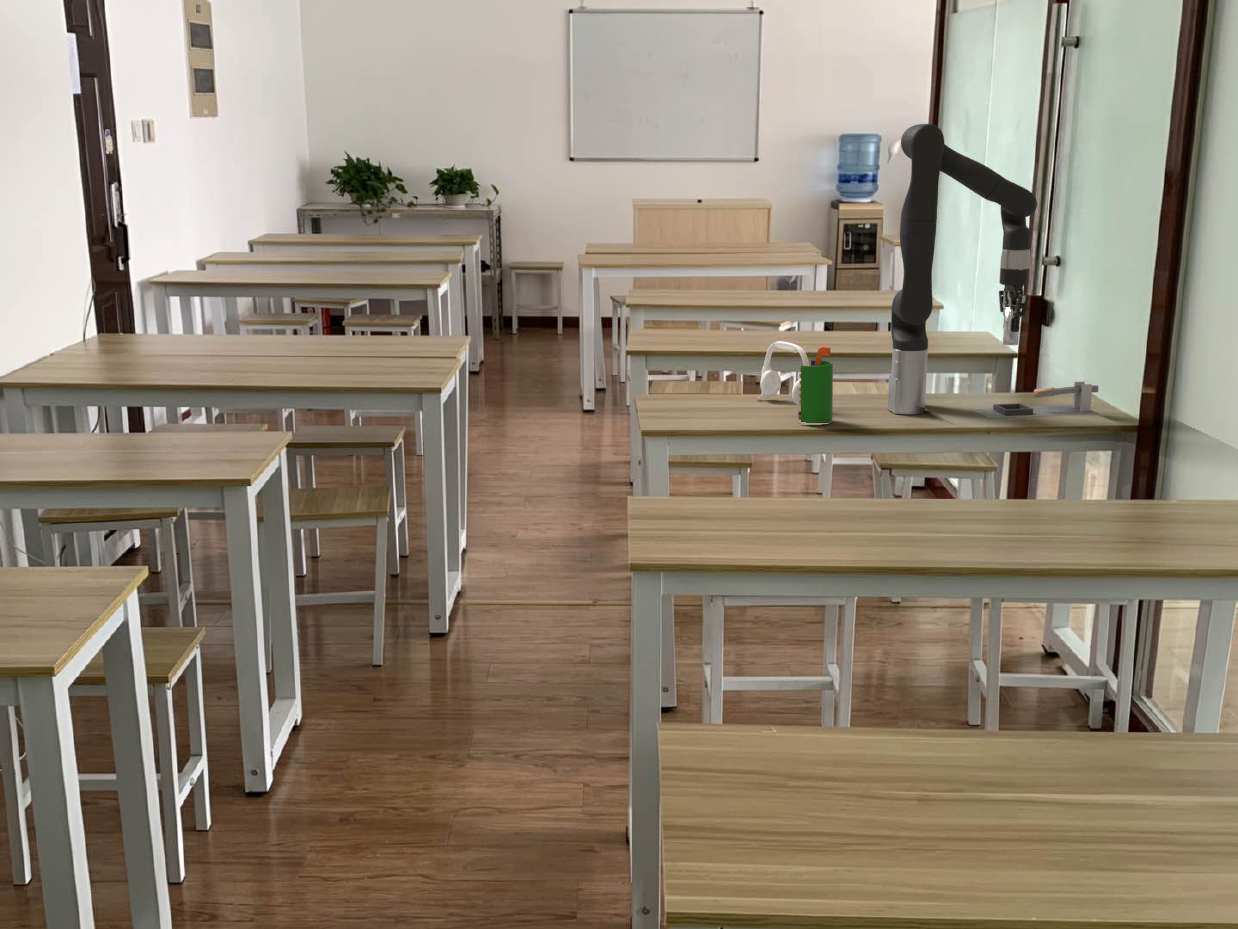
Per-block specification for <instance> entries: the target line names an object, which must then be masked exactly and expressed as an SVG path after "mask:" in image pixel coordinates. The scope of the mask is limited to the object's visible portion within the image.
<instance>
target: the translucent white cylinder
mask: <svg viewBox="0 0 1238 929" xmlns="http://www.w3.org/2000/svg"><path fill="white" fill-rule="evenodd" d="M1014 311H1015V309H1014ZM1003 325H1004V329H1003V335H1002V345H1005V346H1018V345H1019V338H1020V331H1019V332H1011V331H1010V327H1011V310H1010V309H1009V307H1005V315H1003Z"/></svg>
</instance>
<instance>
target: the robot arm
mask: <svg viewBox="0 0 1238 929" xmlns="http://www.w3.org/2000/svg"><path fill="white" fill-rule="evenodd" d="M900 148H901V151H902V152H903V153H904V155H905V156H907V158H909V159H910V161H911V166H910V167H911V173H910V174H911V175H910V182H909V187H908V190H907V193H906V195H905V198H904V202H903V205H902V209H901V213H900V223H899V224H900V225H899V246H900V252H901V258H902V264H903V265H902V266H903V279H902V288H901V289H900V290H899V291H898V292H896V294H895V296H893V299H892V304H891V315H890V316H891V317H890V318H891V324H890V326H891V329H890V332H891V333H890V334H891V340H892V353H891V355H892V358H891V359H892V360H891V374H889V375H888V390H887V391H888V392H887V393H888V394H887V395H888V396H887V410H888V411H890V412H891V411H892V412H891V413H893V414H896V415H897V414H898V415H919V414H924V413H925V412H926V398H927V395H926V394H927V377H928V374H927V372H928V354H929V353H928V352H929V338H928V336H927V328H926V326H927V323H926V321H927V320H928V319H929V318H930V316H931V314H932V311H933V306H934V304H933V303H934V302H933V301H934V300H933V279H932V278H933V277H932V275H933V274H932V273H933V264H934V257H935V248H936V247H935V246H936V236H937V222H938V203H939V202H938V201H939V182H940V181H939V180H940V173H944V174H945V175H946V176H949V177H950V178H951V179H953V180H954V181H956V182H958V183H959V184H961V185H963V186H964V187H965V188H967V189H969V190H970V191H971V192H973V193H975V194H977V195H978V196H980V197H981V198H983V199H985V200H987V201H989V202H992V203H995V204H997V205H999V206H1000V218H1001V219H1000V220H1001V225H1002V230H1003V235H1002V247H1001V248H1002V249H1001V254H1000V255H1001V256H1000V264H999V266H1000V267H999V268H1000V269H999V285H1002V286H1004V288H1003V290H999V291H998V298H999V299H998V300H999V301H998V302H999V310H1000V313H1002V315H1003V316H1004V315H1005V307H1009V309H1010V310H1011V327H1010V331H1011V332H1019V333H1020V323H1021V318H1022V317H1025V315H1026V310H1027V305H1028V301H1029V295H1025V294H1024V286H1026V285H1028V284H1029V283H1030V272H1031V270H1030V269H1031V268H1030V267H1031V235H1032V233H1031V230H1030V229H1031V228H1029V227H1028V226H1027V217H1030V216H1032V215H1033V214H1034V213H1035V212H1036V210H1037V207H1038V200H1037V198H1036V196H1035V194H1034V193H1033V192H1031V191H1030V190H1029V189H1027V188H1025V187H1023V186H1021V185H1019V184H1017V183H1015V182H1012V181H1010V180H1008V179H1007V178H1005V177H1003V176H1002V175H1001V174H999V173H998V172H996V171H995V170H993V169H991V168H990V167H988V166H986V165H985V164H983V163H981V162H979V161H977V160H974V159H972V158H970V157H968V156H966V155H964V154H961V153H959V152H958V151H956V150H954V149H952V148H951V147H949V146H948V145H947V144H945V136H944V133H943V131H942V130H941V128H940V127H939V126H937V125H936V124H933V123H920V124H914V125H911V126H909V127H908V128H907V129H906V130H905V131H904V132H903V134H902V135H901V138H900ZM1014 309H1015V311H1014ZM1002 328H1003V330H1004V324H1003V327H1002Z"/></svg>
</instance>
